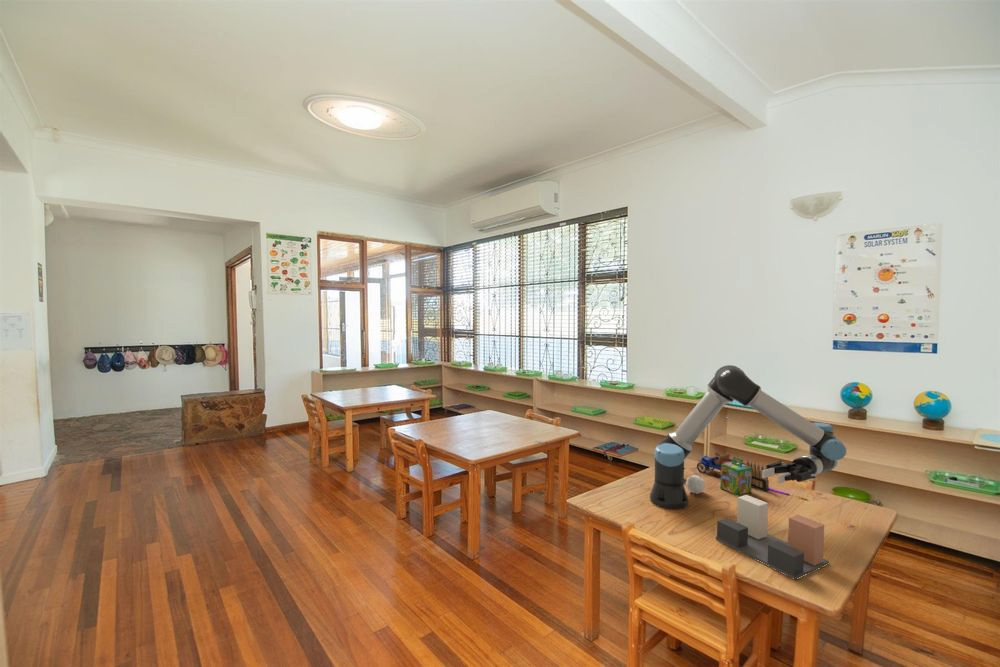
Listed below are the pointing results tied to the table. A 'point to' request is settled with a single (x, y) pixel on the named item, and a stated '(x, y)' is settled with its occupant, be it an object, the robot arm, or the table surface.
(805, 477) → the robot arm
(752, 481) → the ammunition clip
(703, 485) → the geometric ball
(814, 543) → the terracotta key
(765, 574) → the table surface
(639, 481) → the table surface
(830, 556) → the table surface
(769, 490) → the yellow handled tool
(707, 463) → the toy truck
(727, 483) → the chalk box
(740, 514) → the off-white key
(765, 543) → the key console
